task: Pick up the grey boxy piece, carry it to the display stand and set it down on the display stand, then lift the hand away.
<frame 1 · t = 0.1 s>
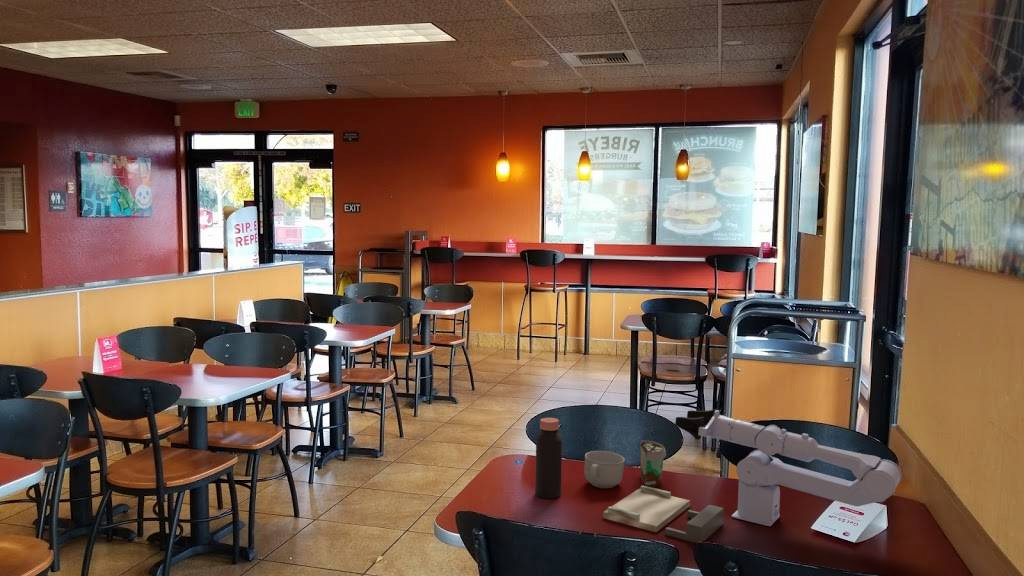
hand: (681, 417, 197), 22 cm above the table, tool horizontal, fingers open, 7 cm apart
grey boxy piece: (704, 532, 179), on the table
bottle: (548, 495, 201), on the table
display stand: (647, 511, 190), on the table
food container: (653, 482, 212), on the table
teacup: (600, 486, 208), on the table
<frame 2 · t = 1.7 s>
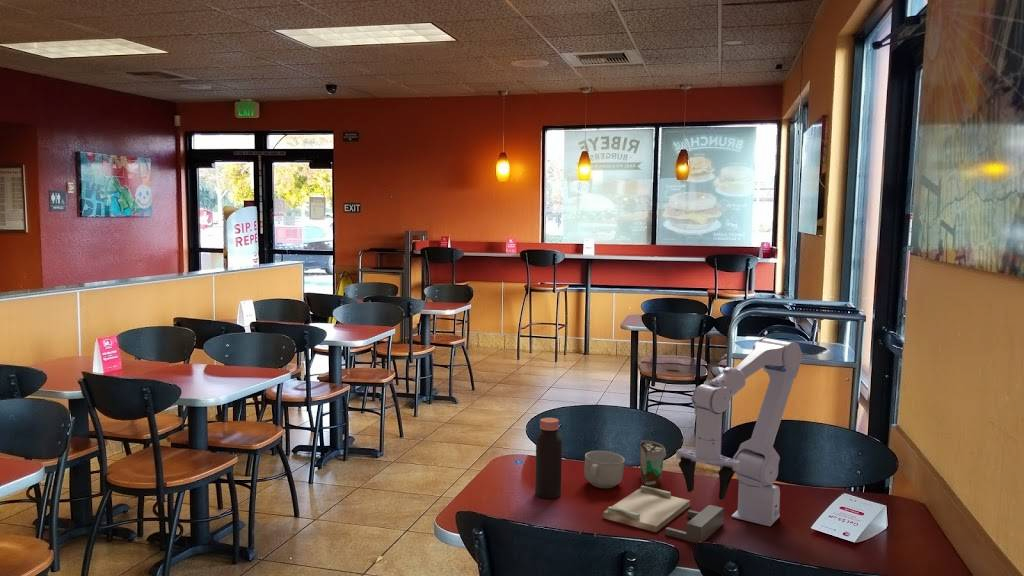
hand: (706, 494, 178), 9 cm above the table, tool pointing down, fingers open, 7 cm apart
nothing on the table moved.
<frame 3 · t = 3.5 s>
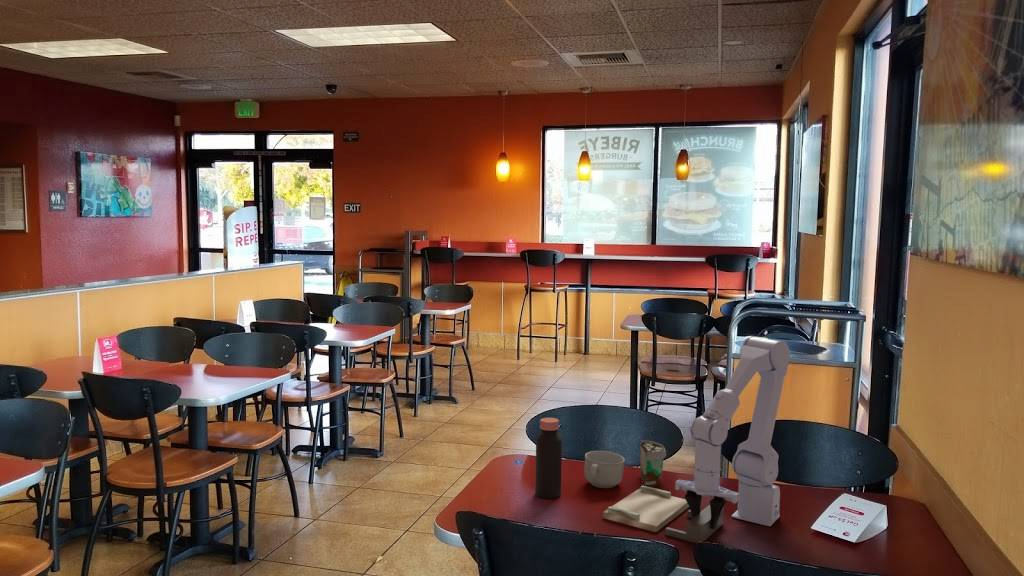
hand: (705, 525, 178), 2 cm above the table, tool pointing down, fingers closed on grey boxy piece, 3 cm apart
grey boxy piece: (704, 532, 179), on the table, touching gripper
everything else where it was.
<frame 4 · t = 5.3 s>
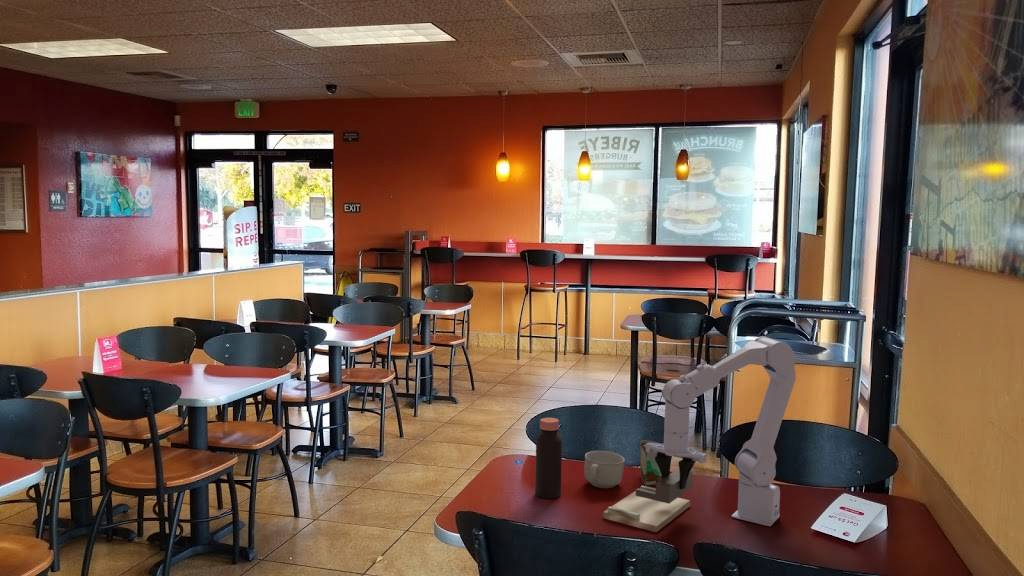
hand: (674, 486, 184), 9 cm above the table, tool pointing down, fingers closed on grey boxy piece, 3 cm apart
grey boxy piece: (674, 493, 184), point 7 cm above the table, touching gripper
everything else where it was.
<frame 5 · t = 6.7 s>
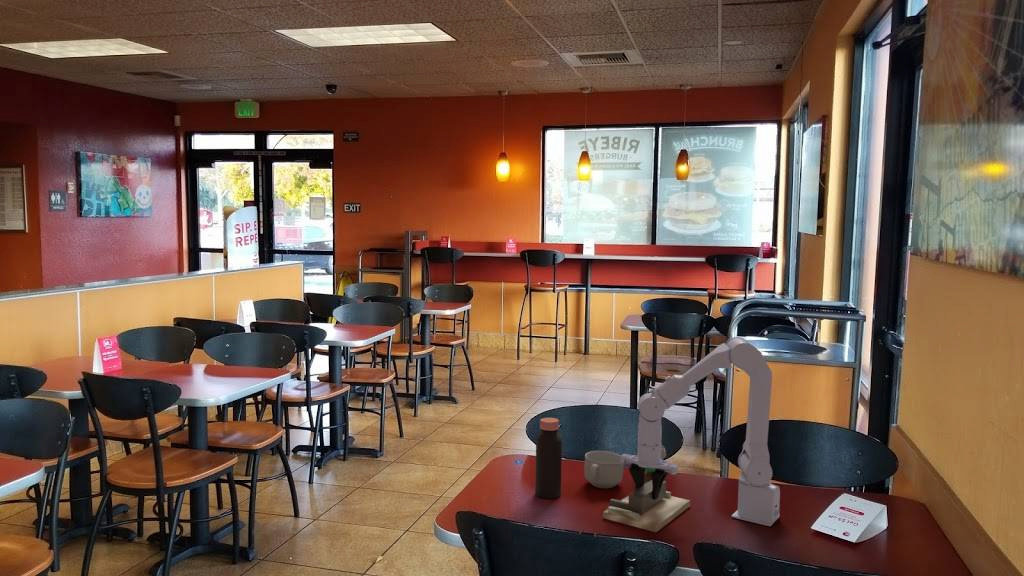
hand: (647, 496, 190), 4 cm above the table, tool pointing down, fingers closed on grey boxy piece, 3 cm apart
grey boxy piece: (647, 503, 190), point 2 cm above the table, touching gripper
everything else where it was.
when the fingers open (4 cm above the table, at t = 7.4 s): grey boxy piece stays where it is, resting on display stand.
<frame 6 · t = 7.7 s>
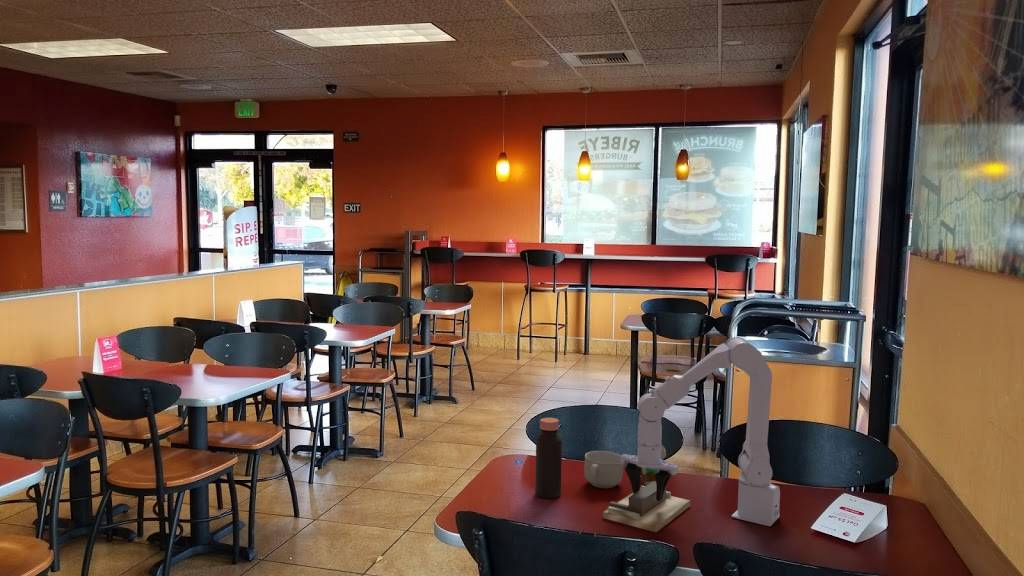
hand: (647, 496, 190), 4 cm above the table, tool pointing down, fingers open, 6 cm apart
grey boxy piece: (647, 506, 190), point 1 cm above the table, touching display stand
everything else where it was.
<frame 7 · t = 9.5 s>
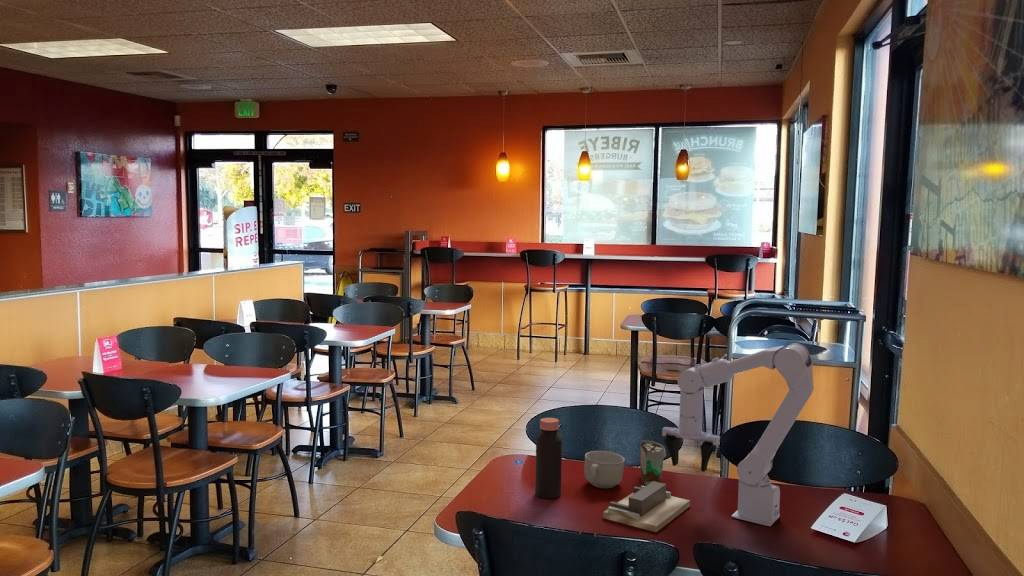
hand: (689, 467, 196), 9 cm above the table, tool pointing down, fingers open, 7 cm apart
nothing on the table moved.
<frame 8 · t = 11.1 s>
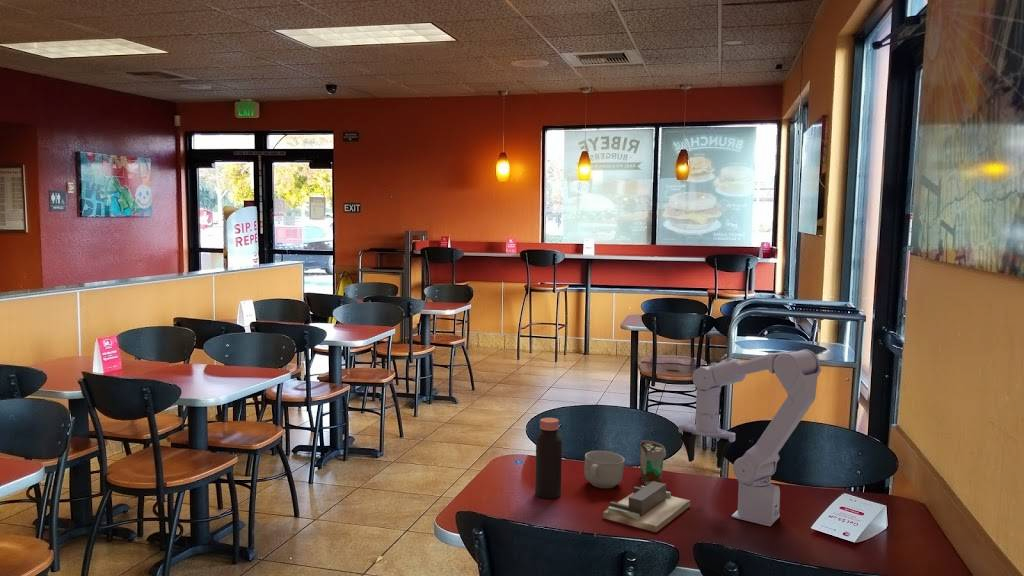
hand: (705, 463, 198), 9 cm above the table, tool pointing down, fingers open, 7 cm apart
nothing on the table moved.
at the end: grey boxy piece 0.1 cm off-centre on the display stand, point 1.5 cm above the display stand's base; grey boxy piece tilted 0°; the gripper is holding nothing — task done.
